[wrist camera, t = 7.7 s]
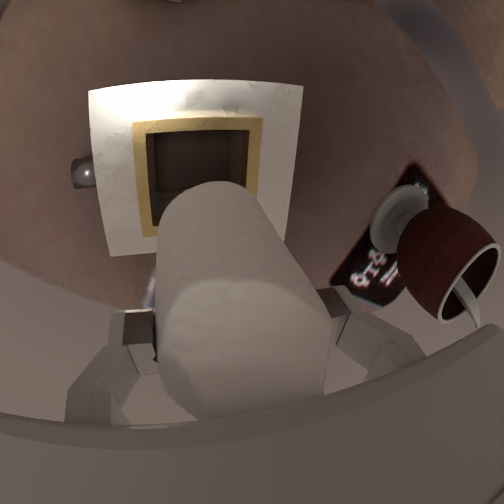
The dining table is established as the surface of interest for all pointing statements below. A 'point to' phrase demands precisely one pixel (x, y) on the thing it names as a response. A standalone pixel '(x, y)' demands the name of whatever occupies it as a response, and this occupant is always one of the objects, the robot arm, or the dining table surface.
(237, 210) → the roll
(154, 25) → the dining table surface
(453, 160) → the dining table surface
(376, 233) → the mate gourd
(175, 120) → the white box
